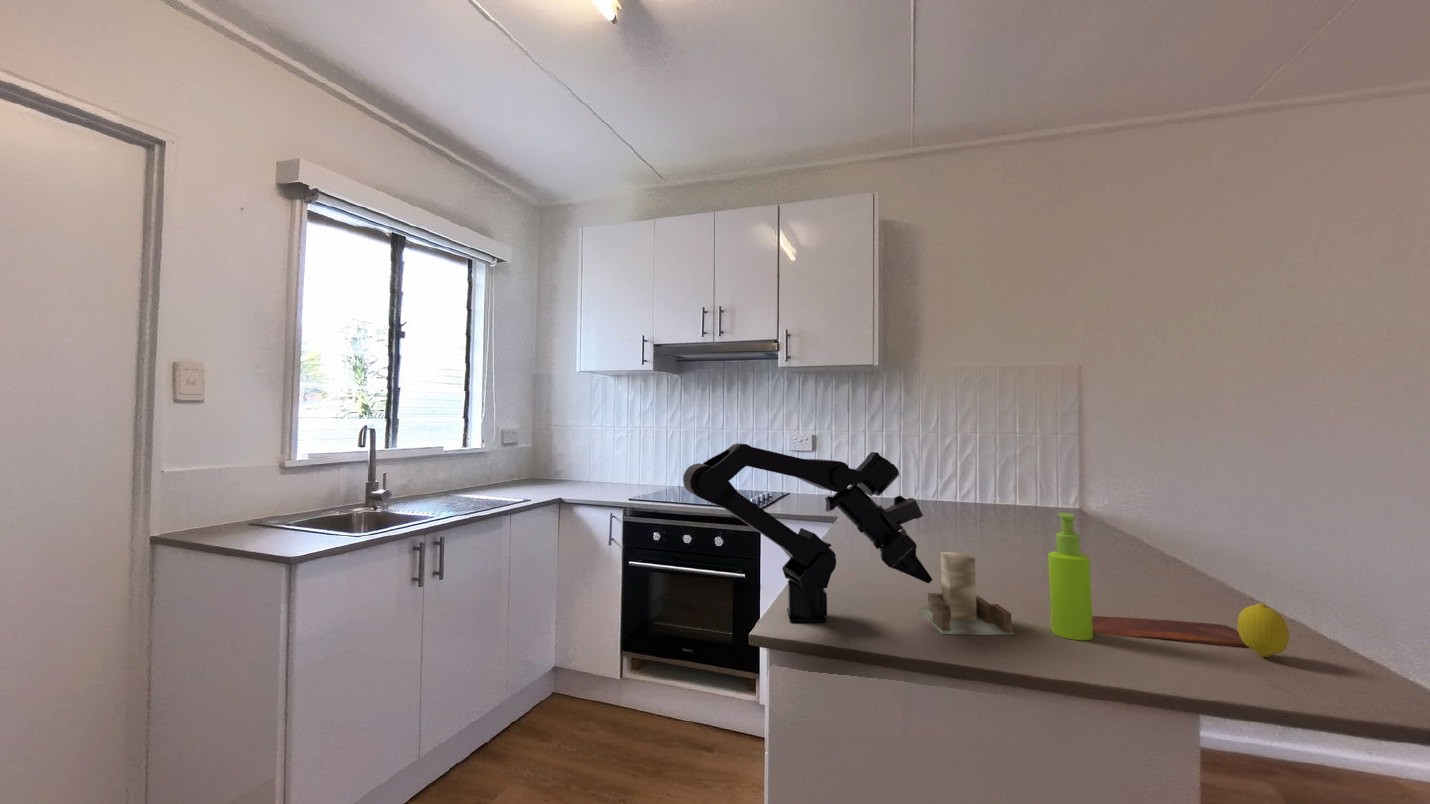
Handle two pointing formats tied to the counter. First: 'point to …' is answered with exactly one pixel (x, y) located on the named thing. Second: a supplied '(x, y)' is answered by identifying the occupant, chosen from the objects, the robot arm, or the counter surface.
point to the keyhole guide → (988, 620)
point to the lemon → (1263, 630)
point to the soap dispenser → (1070, 585)
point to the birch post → (959, 585)
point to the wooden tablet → (1168, 630)
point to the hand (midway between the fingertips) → (925, 574)
